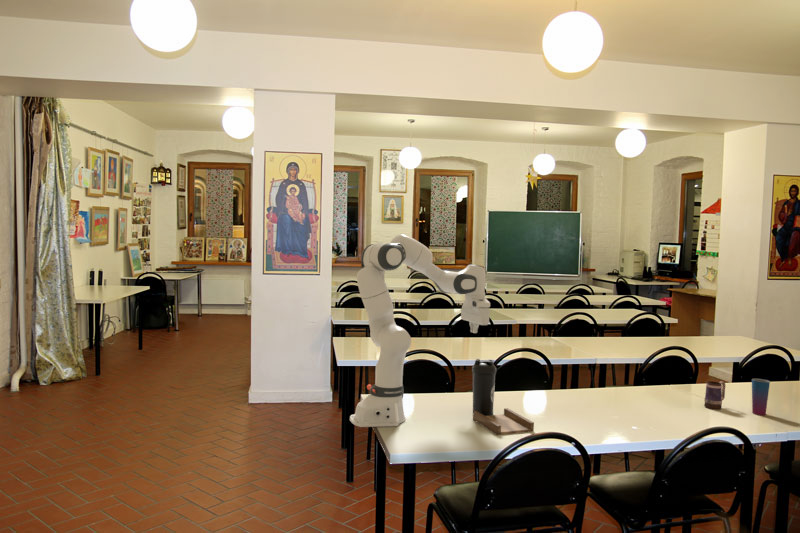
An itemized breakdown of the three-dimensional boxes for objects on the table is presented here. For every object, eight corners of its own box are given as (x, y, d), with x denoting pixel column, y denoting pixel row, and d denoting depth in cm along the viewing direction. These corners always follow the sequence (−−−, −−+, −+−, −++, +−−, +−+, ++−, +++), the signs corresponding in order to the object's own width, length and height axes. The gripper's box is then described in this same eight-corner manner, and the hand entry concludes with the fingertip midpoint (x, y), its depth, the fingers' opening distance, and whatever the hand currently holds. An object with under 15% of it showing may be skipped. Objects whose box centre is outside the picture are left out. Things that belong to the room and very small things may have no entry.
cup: (766, 412, 256) (768, 379, 256) (769, 416, 250) (771, 383, 250) (749, 410, 259) (750, 378, 259) (751, 414, 253) (752, 381, 252)
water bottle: (494, 417, 238) (496, 363, 237) (469, 415, 240) (471, 361, 239) (495, 411, 248) (497, 358, 247) (471, 409, 250) (473, 356, 249)
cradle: (497, 435, 216) (497, 426, 216) (472, 419, 235) (473, 411, 235) (533, 431, 222) (533, 422, 222) (507, 416, 241) (507, 408, 241)
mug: (713, 410, 258) (714, 384, 258) (700, 406, 265) (701, 380, 264) (730, 408, 262) (731, 382, 261) (717, 404, 268) (718, 379, 268)
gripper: (458, 299, 261) (457, 329, 261) (479, 303, 241) (478, 336, 242) (470, 299, 263) (469, 328, 263) (492, 303, 244) (491, 336, 244)
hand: (473, 332), depth 253 cm, fingers closed
